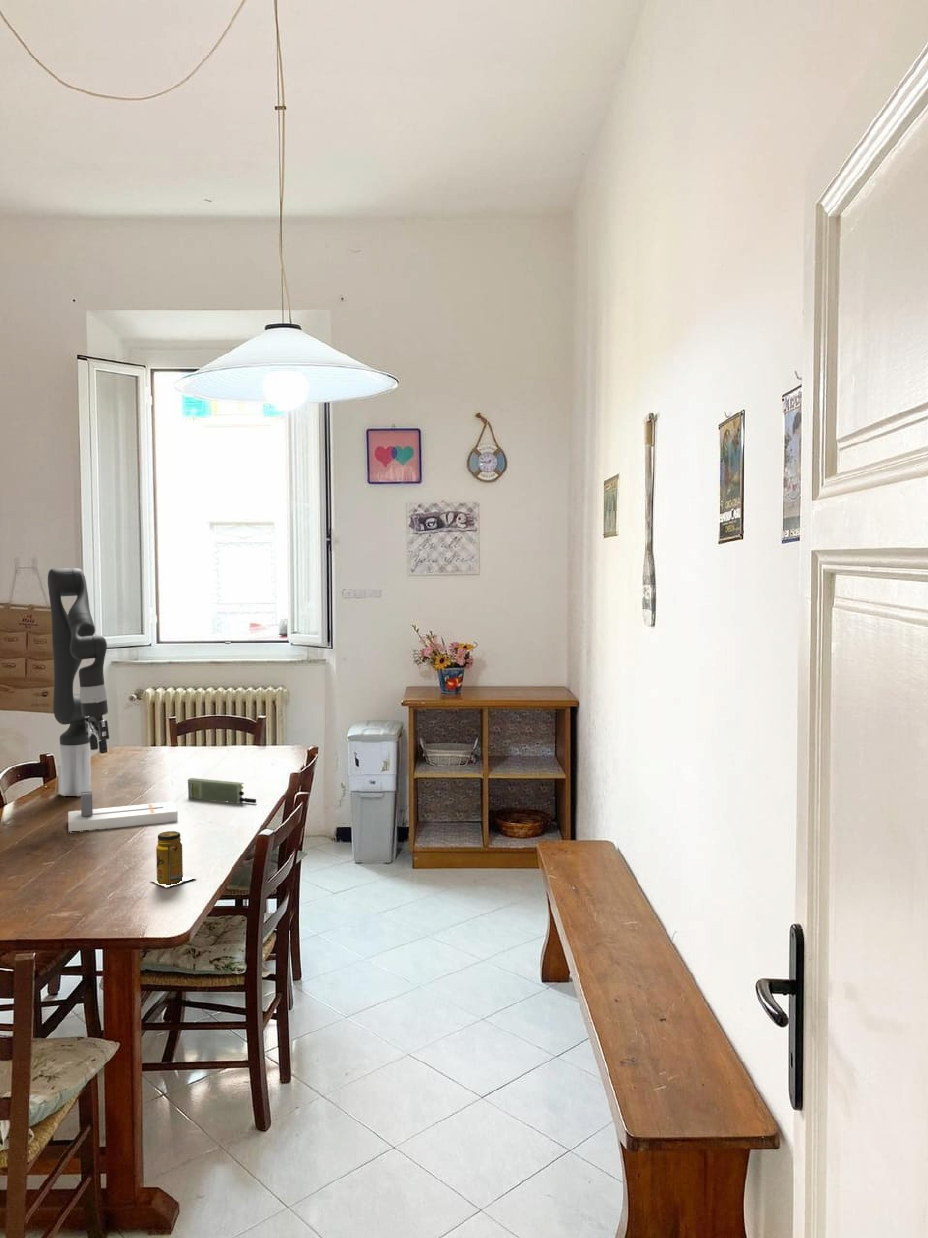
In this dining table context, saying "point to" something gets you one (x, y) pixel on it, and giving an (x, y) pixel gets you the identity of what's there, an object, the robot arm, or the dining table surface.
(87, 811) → the block
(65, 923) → the dining table surface
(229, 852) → the dining table surface
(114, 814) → the console
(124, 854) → the dining table surface
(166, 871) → the condiment
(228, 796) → the handheld radio
